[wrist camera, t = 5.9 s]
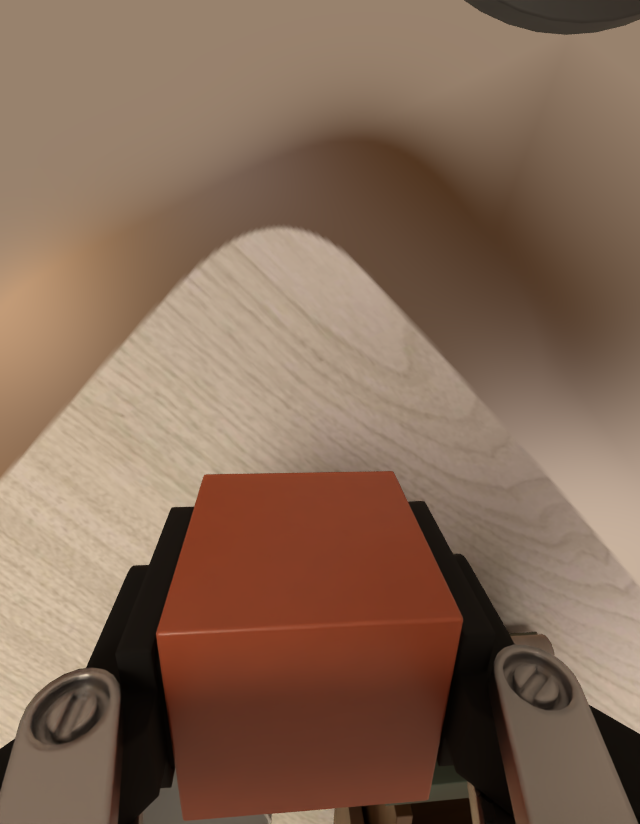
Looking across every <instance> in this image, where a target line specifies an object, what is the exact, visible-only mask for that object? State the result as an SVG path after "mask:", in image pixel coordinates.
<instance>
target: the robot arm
mask: <svg viewBox="0 0 640 824" xmlns="http://www.w3.org/2000/svg"><path fill="white" fill-rule="evenodd" d="M408 503H409V505H410V507H411V510H412V512H413V514H414V516H415V518H416V520H417V522H418V524H419V526H420V529H421V531H422V533H423V535H424V537H425V539H426V541H427V543H428V545H429V547H430V550H431V552H432V554H433V556H434V558H435V560H436V562H437V564H438V566H439V568H440V571H441V573H442V575H443V577H444V579H445V581H446V583H447V585H448V587H449V590H450V592H451V594H452V596H453V598H454V600H455V602H456V604H457V606H458V608H459V611H460V613H461V615H462V617H463V624H462V629H461V634H460V639H459V644H458V650H457V655H456V660H455V665H454V670H453V676H452V681H451V686H450V691H449V696H448V702H447V707H446V712H445V717H444V722H443V727H442V733H441V738H440V743H439V748H438V753H437V762H438V765H439V766H452V765H454V768H455V771H456V773H458V774H459V775H460V776H461V777H463V778H464V779H465V780H467V787H468V794H469V801H470V808H471V816H472V823H473V824H640V734H639V733H637V732H635V731H634V730H632V729H630V728H628V727H627V726H625V725H623V724H621V723H620V722H618V721H616V720H614V719H613V718H611V717H609V716H608V715H606V714H604V713H602V712H601V711H599V710H597V709H595V708H594V707H592V706H590V705H589V704H588V702H587V700H586V697H585V695H584V693H583V690H582V688H581V685H580V684H579V682H578V680H577V679H576V677H575V675H574V674H573V672H572V671H571V670H570V669H569V668H568V667H567V666H566V665H565V664H564V663H563V662H562V661H560V660H559V659H558V658H556V657H555V656H553V655H552V654H550V653H548V652H546V651H544V650H542V649H540V648H537V647H533V646H529V645H515V644H514V642H513V640H512V638H511V636H510V635H509V633H508V631H507V629H506V628H505V626H504V624H503V622H502V621H501V619H500V617H499V615H498V614H497V612H496V610H495V608H494V607H493V605H492V603H491V601H490V600H489V598H488V596H487V594H486V593H485V591H484V589H483V587H482V586H481V584H480V582H479V580H478V579H477V577H476V575H475V573H474V572H473V570H472V568H471V566H470V564H469V563H468V561H467V560H466V558H465V557H464V556H463V555H461V554H453V553H452V551H451V549H450V548H449V546H448V544H447V542H446V540H445V538H444V536H443V534H442V533H441V531H440V529H439V527H438V525H437V523H436V521H435V520H434V518H433V516H432V514H431V512H430V510H429V508H428V507H427V505H426V503H425V502H424V501H412V502H408ZM193 510H194V507H173V508H171V510H170V512H169V515H168V518H167V520H166V523H165V525H164V528H163V531H162V533H161V536H160V538H159V541H158V544H157V546H156V549H155V551H154V554H153V557H152V559H151V562H150V564H149V565H136V566H132V567H131V568H130V570H129V572H128V574H127V576H126V578H125V580H124V583H123V585H122V587H121V590H120V592H119V594H118V596H117V599H116V601H115V603H114V606H113V608H112V610H111V612H110V615H109V617H108V619H107V621H106V624H105V626H104V628H103V631H102V633H101V635H100V637H99V640H98V642H97V644H96V647H95V649H94V651H93V653H92V656H91V658H90V660H89V663H88V665H87V667H86V668H84V669H78V670H75V671H72V672H69V673H66V674H64V675H62V676H60V677H59V678H57V679H55V680H54V681H52V682H50V683H49V684H48V685H47V686H45V687H44V688H43V689H42V690H41V691H40V692H38V693H37V694H36V696H35V697H34V698H33V699H32V701H31V702H30V703H29V704H28V706H27V707H26V709H25V711H24V714H23V716H22V718H21V720H20V723H19V727H18V730H17V734H16V738H15V739H14V740H12V741H11V742H9V743H8V744H7V745H5V746H4V747H2V748H1V749H0V824H143V811H144V810H145V809H146V808H147V807H148V806H149V805H150V804H151V803H152V802H153V801H154V800H155V799H156V798H157V797H158V796H159V793H160V788H171V787H172V783H173V777H174V772H175V762H174V755H173V749H172V742H171V735H170V728H169V721H168V714H167V707H166V700H165V693H164V686H163V680H162V673H161V666H160V659H159V652H158V645H157V638H156V631H157V628H158V625H159V622H160V618H161V615H162V612H163V608H164V605H165V602H166V598H167V595H168V592H169V589H170V585H171V582H172V579H173V575H174V572H175V569H176V566H177V562H178V559H179V556H180V552H181V549H182V546H183V543H184V539H185V536H186V533H187V529H188V526H189V523H190V519H191V516H192V513H193Z"/></svg>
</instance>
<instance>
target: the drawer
mask: <svg viewBox="0 0 640 824" xmlns="http://www.w3.org/2000/svg"><path fill="white" fill-rule="evenodd" d="M509 635H510V636H511V638H512V640H513V642H514V644H515V645H529V646H533V647H537V648H540V649H542V650H544V651H546V652H548V653H550V654H552V655H553V656H554V650H553V647H552V644H551V642H550V641H549V639H548V638H547V637H546V636H545V635H543V634H537V632H526V633H510V634H509ZM362 813H363V819H364V824H473V823H472V816H471V808H470V801H469V794H468V787H467V780H465V779H464V778H463V777H461V776H460V775H459V774H458V773H456V771H455V768H454V765H452V766H439V765H438V762H437V759H436V764H435V769H434V774H433V779H432V784H431V790H430V795H429V799H428V800H426V801H414V802H403V803H391V804H379V805H367V806H362Z"/></svg>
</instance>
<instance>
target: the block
mask: <svg viewBox="0 0 640 824" xmlns="http://www.w3.org/2000/svg"><path fill="white" fill-rule="evenodd" d="M462 624H463V617H462V615H461V613H460V611H459V608H458V606H457V604H456V602H455V600H454V598H453V596H452V594H451V592H450V590H449V587H448V585H447V583H446V581H445V579H444V577H443V575H442V573H441V571H440V568H439V566H438V564H437V562H436V560H435V558H434V556H433V554H432V552H431V550H430V547H429V545H428V543H427V541H426V539H425V537H424V535H423V533H422V531H421V529H420V526H419V524H418V522H417V520H416V518H415V516H414V514H413V512H412V510H411V507H410V505H409V503H408V501H407V499H406V497H405V495H404V493H403V491H402V489H401V486H400V484H399V482H398V480H397V478H396V476H395V474H394V472H393V471H371V472H316V473H261V474H206V475H204V477H203V480H202V483H201V487H200V490H199V493H198V496H197V500H196V503H195V506H194V510H193V513H192V516H191V519H190V523H189V526H188V529H187V533H186V536H185V539H184V543H183V546H182V549H181V552H180V556H179V559H178V562H177V566H176V569H175V572H174V575H173V579H172V582H171V585H170V589H169V592H168V595H167V598H166V602H165V605H164V608H163V612H162V615H161V618H160V622H159V625H158V628H157V631H156V638H157V645H158V652H159V659H160V666H161V673H162V680H163V686H164V693H165V700H166V707H167V714H168V721H169V728H170V735H171V742H172V749H173V755H174V762H175V769H176V776H177V783H178V790H179V797H180V804H181V811H182V817H183V820H184V821H191V820H203V819H215V818H227V817H238V816H250V815H262V814H273V813H285V812H297V811H309V810H320V809H332V808H344V807H356V806H367V805H379V804H391V803H403V802H414V801H426V800H428V799H429V795H430V790H431V784H432V779H433V774H434V769H435V764H436V759H437V753H438V748H439V743H440V738H441V733H442V727H443V722H444V717H445V712H446V707H447V702H448V696H449V691H450V686H451V681H452V676H453V670H454V665H455V660H456V655H457V650H458V644H459V639H460V634H461V629H462Z"/></svg>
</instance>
